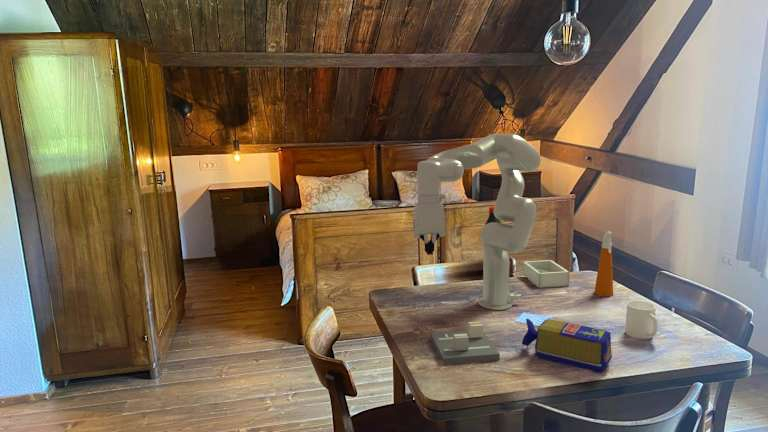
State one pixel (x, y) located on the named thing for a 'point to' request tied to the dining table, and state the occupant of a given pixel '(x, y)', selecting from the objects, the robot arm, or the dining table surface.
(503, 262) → the robot arm
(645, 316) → the cup
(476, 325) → the fader
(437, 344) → the console
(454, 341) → the fader
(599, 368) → the bread
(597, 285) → the spray bottle
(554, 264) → the frame
